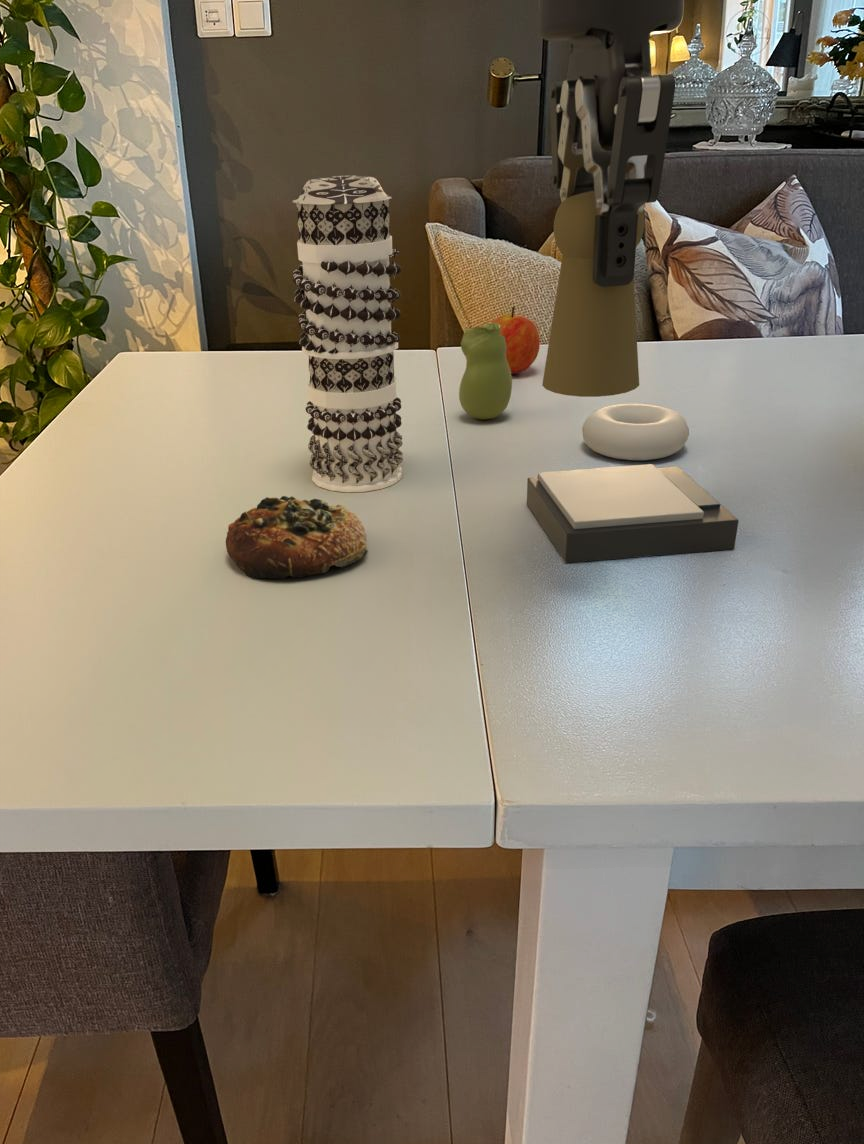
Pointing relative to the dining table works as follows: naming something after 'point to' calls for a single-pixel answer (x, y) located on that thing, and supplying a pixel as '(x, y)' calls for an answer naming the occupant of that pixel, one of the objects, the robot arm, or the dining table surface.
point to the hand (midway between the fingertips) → (596, 275)
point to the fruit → (519, 341)
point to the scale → (628, 513)
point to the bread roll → (294, 538)
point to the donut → (635, 431)
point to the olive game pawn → (589, 314)
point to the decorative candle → (349, 332)
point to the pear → (485, 372)
